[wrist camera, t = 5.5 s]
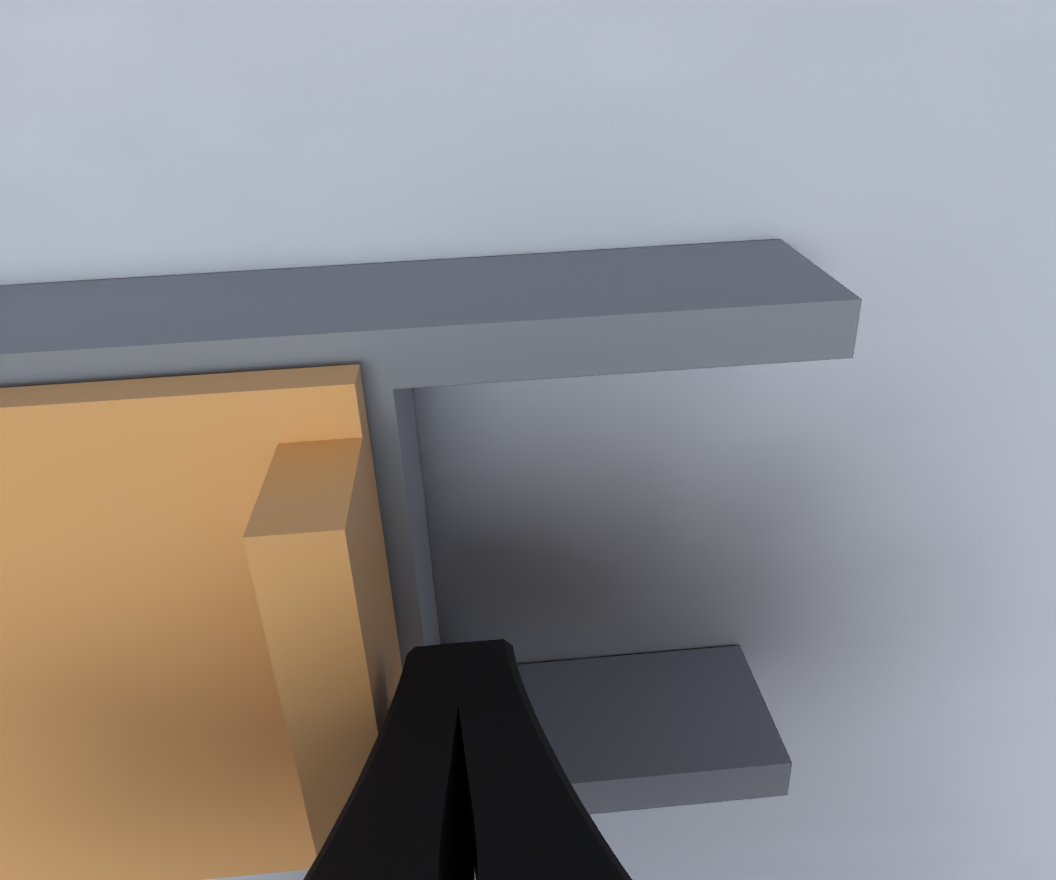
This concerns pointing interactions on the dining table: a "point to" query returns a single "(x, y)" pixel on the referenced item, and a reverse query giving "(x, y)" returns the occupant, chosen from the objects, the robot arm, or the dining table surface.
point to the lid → (187, 622)
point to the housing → (483, 357)
